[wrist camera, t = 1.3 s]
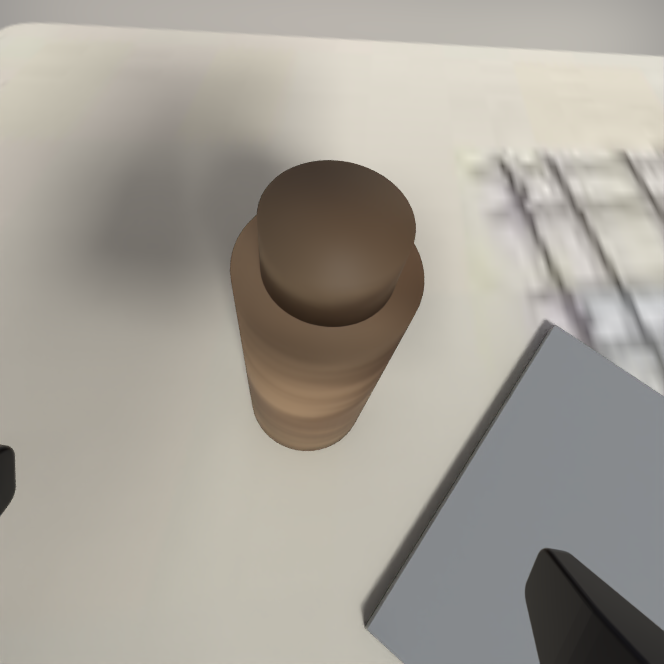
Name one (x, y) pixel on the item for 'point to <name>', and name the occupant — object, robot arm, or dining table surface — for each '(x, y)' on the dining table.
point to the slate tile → (537, 512)
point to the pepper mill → (323, 297)
